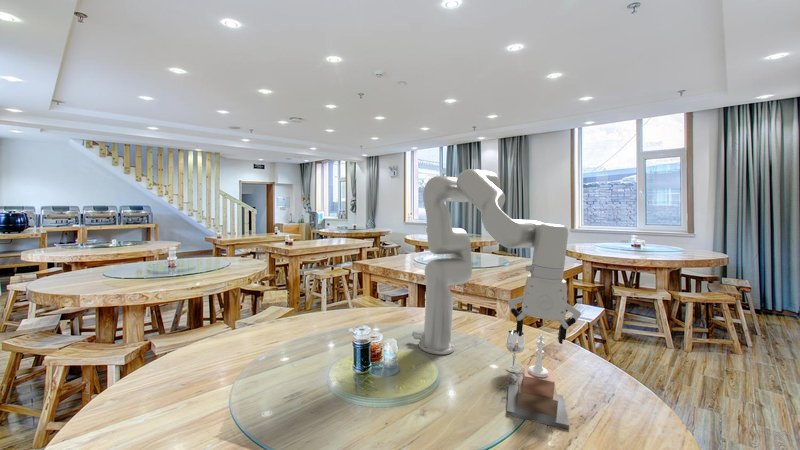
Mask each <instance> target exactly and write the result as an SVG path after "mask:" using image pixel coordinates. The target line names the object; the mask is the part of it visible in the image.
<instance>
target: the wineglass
mask: <svg viewBox="0 0 800 450" xmlns="http://www.w3.org/2000/svg"><path fill="white" fill-rule="evenodd" d="M525 346H526V338H525V333H524V332H523V331H522V336H519V332H518V331H516V329H510V330H509V329H508V332H507V335H506V338H505V347H506V349H507V351H509V352H510V353H512V367H509V368H510V369H512V370H515V369H516V368H517V367H516V366H515V359H516V358H517V355H516V354H520V353H522V352H523V351H524V350H525ZM515 367H516V368H515Z"/></svg>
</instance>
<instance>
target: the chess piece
mask: <svg viewBox="0 0 800 450" xmlns="http://www.w3.org/2000/svg"><path fill="white" fill-rule="evenodd" d="M539 335H540V336H537V339H538V340H536V345H537V348H536V349H535V352H536V353H537V356H536V359H535V363H534V364H533V365H530V367H529V368H528V372H529V373H530V374H532V375H534V376H537V377H547V376H548V371H547V370H546V369H547V368H546V369H545V367H544V366H543V361H542V360H543V354H545V350H543V349H544V346H545V344H546V343H545V342H544V341H545V339H546V338H545V337H544V336H543V334H539ZM543 340H544V341H543Z"/></svg>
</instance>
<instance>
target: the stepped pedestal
mask: <svg viewBox="0 0 800 450" xmlns="http://www.w3.org/2000/svg"><path fill="white" fill-rule="evenodd" d="M530 366H531V365H529V364H523V374H522V376H519V377H518V385H515V384H511V383H509V384H508V387H507V388H508V389H507V390H508V391H507V405H506V416H510V417H515V418H518V417H520V418H519V419H522V418H523V420H528V421H532V422H536V423H540V424H545V425H549V426H552V427H557V428H562V429H566V430H570V422H569V419H568V413H567V409H566V405H565V400H564V395H563V394H558V392H557V387H556V382H555V377H554V372H553V369H549V368H545V367H544V368H545V369H546V370H547V371H548V376H547V377H537V376H534V375H532V374H530V373H529V372H528V368H529V367H530Z"/></svg>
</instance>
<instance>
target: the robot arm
mask: <svg viewBox="0 0 800 450" xmlns="http://www.w3.org/2000/svg"><path fill="white" fill-rule="evenodd" d="M500 188H501V183H500V179H499V177H498V175H497V173H495V172H493V171H489V170H482V169H478V168H477V169H476V168H469V169H464V170H463V171H461V172H460V173H459V174H458V176H456V177H455V176H449V175H448V176H447V175H446V176H445V175H437V176H433V177H431V178H430V179H428V181H426V183H425V185H424V188H423V193H422V201H423V206H424V209H425V216H426V233H427V234H426V235H427V236H426V237H427V246H428V250H429V252H430V253H431V254H434V255H438V256H439V255H440V256H441V255H450V257H447V258H446V257H443V258H434V259H432V260H430V261H429V262H427V264H426V266H425V267H424V279H425V288H426V289H425V290H426V291H425V310H424V324H423V325H424V327H423V331H421V332H419V331H415V330H412V334H411V336H412V338H413V339H414V340H419V342H418V347H419V349H420V350H422V351H423V352H425V353H428V354H431V355H432V354H433V355H442V356H443V355H449V354H452V353H453V352H454V351H455V348H456V345H455V344H454V342H452V338H451V337H452V322H453V313H454V312H453V309H454V297H453V294H452V291H451V289H450V286H456V285H464V284H467V283H469V281H470V280H471V278H472V273H473V262H472V261H473V260H472V246H471V239H470V237H469V234H468V232H467V231H466V230H465V229H463V228H460V227H452V220H451V219H452V217H451V212H450V210H449V208H448V207H447V204H445V202H453V203H469V202H470V203H472V205H473V206H474V207H475V208H476V209H477V210H478V211H479V212H480V217H481V219H480V220H481V222H482V225H483V227H484V229H485V231H486V232H487V234H489V236H491V237H492V239H493V240H495V241H496V242H497V243H498V244H499V245H501V246H502V247H504V248H506V249H507V248H508V249H527V248H528V249H533V252H532V261H531V264H530V265H529V264H528V265H525V271H526V272H529V274H528V275H527V278H526V281H525V284H524V289H523V295H521V296H517V297H515V298H511V299H509V300H508V301H507V304H508V307H509V310H510V312H511V314H512V315H513V316H514V317H515V319H516V321H517V322H516V329H515V330H516V331H518V332H519V336H522V332H523V327H524V325H523V324H524V319H525V317H530V318H537V319H541V320H549V321H552V322H553V321H554V322H555V321H556V322H559V323H560V324H559V327H558V337H557V341H558V343H559V344H560V345H563V342H564V341H566V337H567V332H568V331H567V330H568V329H569V328H570V327H571V326H572V325H574V324H575V323H577V321H578V320H579V318H580V317H581V315H582V312H580V310H579V309H577V308H575V307H574V306H573V305H570V303H567V300H568V299H567V296H568V294H567V292H568V289H567V288H568V287H567V286H568V285H567V280H565V279H564V274H565V264H566V255H567V247H568V246H567V245H568V236H569V229H568V227H567V226H565V225H563V224H559V223H558V224H557V223H545V222H542V221H539V220H536V219H535V220H533V219H513V218H511V217H509V215H508V214H506V213H505V212H504V211H503V210H502V207H503V206H504V204H505V202H506V195H505V192H503V191H502V190H501V189H500ZM521 303H522V304H521ZM518 304H521V310H520V311H519V310H517V308H516V306H515V305H518ZM567 311H568V312H570V313H571V316H570V317H569V318H567V319H566V314H567Z"/></svg>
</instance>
